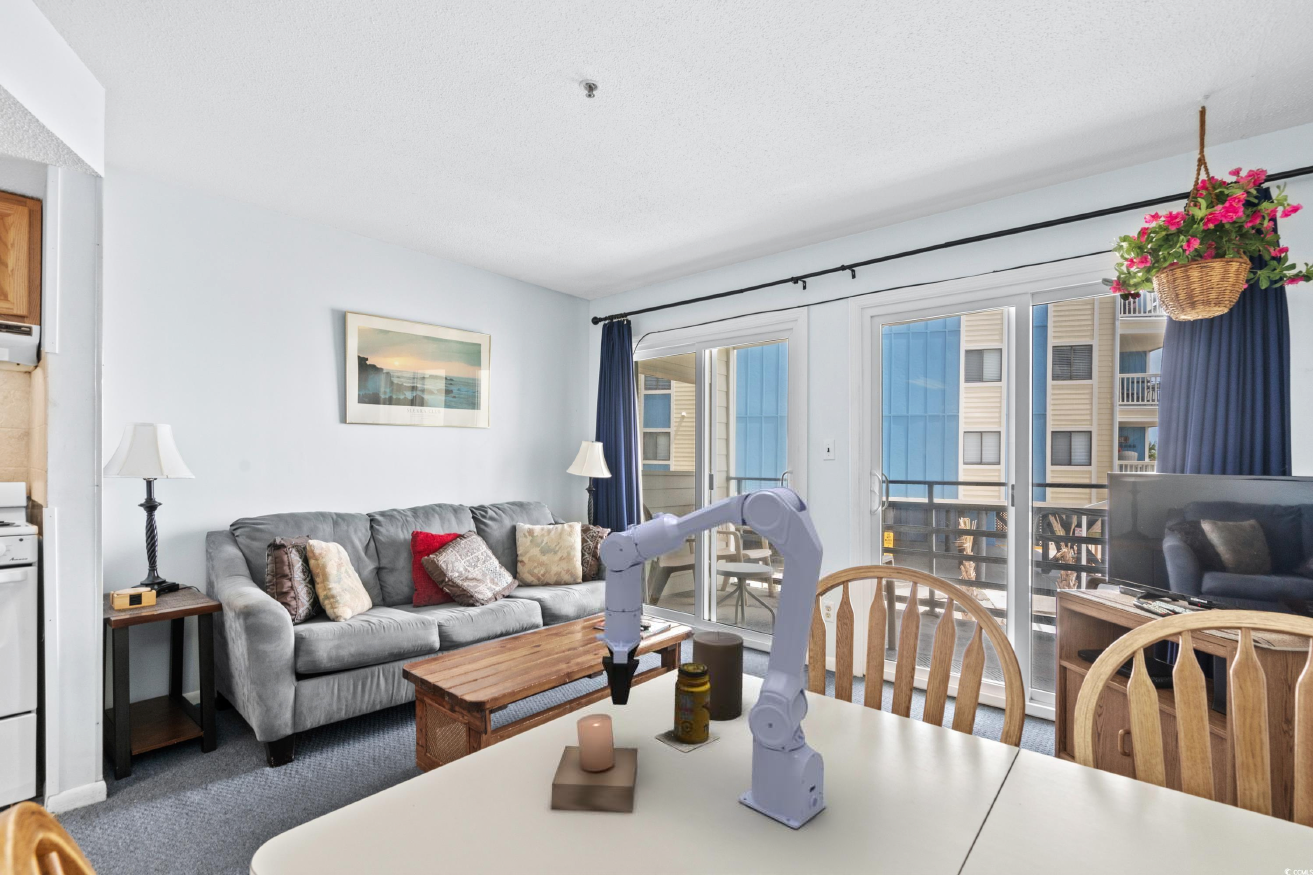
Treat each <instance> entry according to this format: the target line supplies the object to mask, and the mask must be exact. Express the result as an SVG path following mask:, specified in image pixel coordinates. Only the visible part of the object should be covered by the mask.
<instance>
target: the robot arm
mask: <svg viewBox="0 0 1313 875" xmlns="http://www.w3.org/2000/svg"><path fill="white" fill-rule="evenodd" d="M726 524H732V525H734V526H737V527H740V528H741V527H746V526H748V528H749V529H750V530H751V531H753V532H754V533H755V534H757V535H758V536H760V537H761V538H763V539H764V540H766V541H767V542H769V543H771V544H772V546H773V547H774V548H775V549H776V551H777V552H778V553H779V554H780V555H781V557H782V559H784V566H783V572H782V577H781V578H782V579H781V582H780V583H781V584H780V590H779V597H778V603H777V608H776V614H775V620H774V621H775V622H774V626H773V633H772V639H771V646H770V652H769V658H768V664H767V670H766V673H765V676H764V678H763V681H762V684H761V686H760V689H759V694H758V695H759V696H758V700H757V701H756V703H755V704H753V707H752V708H751V709H750V711H749V714H748V728H749V730H750V732H751V734H752V755H751V756H752V757H751V760H752V762H751V789H750V790H748V791H746V792H744V793H743V794H741V795H740V796H738V801H739V803H742V804H745V805H746V806H749V808H752V809H753V810H756V811H758V812H760V813H762V814H764V815H765V816H768V817H771V818H772V819H775V820H776V821H779V822H780V823H781V824H785V825H786V826H788V827H791V828H792V829H798V828H800V827H801V826H802V825H803V824H805V823H806V822H807V821H809V820H811V819H812V818H813V817H814V816H816V815H817V814H818V813H819V812H821V811H822V810H823V809H824V808H826V806H827V803H826V802H825V801H824V781H825V780H824V779H825V778H824V775H825V774H824V773H825V772H824V771H825V767H824V766H825V764H824V759H823V756H822V754H821V753H820V752H818V751H817V750H815V749H814V748H812V747H811V746H810V745H809V744H808V743H807V741H806V735H805V734H804V733H805V732H804V730H803V728H802V726H801V722H802V721H803V720H805V718H806V715H807V713H808V711H809V710H808V709H809V703H808V701H809V700H808V697H807V695H806V691H805V690H806V688H805V686H806V676H805V673H804V672H805V666H806V659H807V654H808V646H809V641H810V635H811V630H812V623H813V616H814V609H815V604H816V598H817V592H818V587H819V586H818V585H819V581H820V575H821V574H820V573H821V568H822V562H823V561H822V560H823V556H824V548H823V544H822V542H821V539H820V537H819V534H818V532H817V529H816V527H815V524H814V523H813V520H812V518H811V514H810V509H809V505H808V504H807V502H805V501H804V500H803V498H801V496H800V495H799V494H798V493H797V492H796V491H794V490H793V489H792V488H790V487H786V486H774V487H771V488H762V489H756V490H755V491H753V492H747V493H741V494H736V495H732V496H728V497H726V498H723V499H721V500H718V501H716V502H714V503H711V504H708V505H707V506H704V507H702V508H699V509H698V510H694V511H693V512H691V513H687V514H686V515H684V516H681V517H679V516H676V515H674V514H672V513H669V512H668V513H665V514H664V512H663V511H662V512H661V511H660V512H658V513H654V514H652V519H650V520H648V521H645V522H642V523H640V524H637V523H632V524H629V525H627V530H625V531H621V532H611V533H610V534H609V535H607V536H606V537H605V538H604V539H603V540H602V542H601V544H600V546H599V558H600V560H601V563H602V564H603V565H604V566H605V584H604V586H605V588H604V622H603V623H604V624H603V625H604V627H603V628H604V631H603V633H597V634H596V641H597V642H603V643H604V644H605V646H606V648H607V651H608V653H609V656H605V655H604V656H602V658H601V664H602V667H603V669H604V671H605V674H606V676H607V679H608V684H609V690H610V697H611V701H612V705H613V706H627V705H628V701H629V698H630V692H631V686H632V682H633V678H634V675H635V673H636V671H637V669H638V667H639V665H640V658H635V655H636V653H637V650H638V649H639V647H640V645H641V644H640V643H642V634H641V618H642V581H643V580H642V576H643V564H644V563H645V562H649V561H651V560H654V559H656V558H657V559H658V558H659V557H662V556H665V555H668V554H671V553H673V552H676V551H679V550H681V549H682V548H683V547H684V545H685V543H686V541H687V539H688V538H689V537H691V536H694V535H697V534H700V533H703V532H705V531H708V530H711V529H713V528H716V527H717V528H718V527H719V526H723V525H726Z"/></svg>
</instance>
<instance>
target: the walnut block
mask: <svg viewBox="0 0 1313 875" xmlns="http://www.w3.org/2000/svg"><path fill="white" fill-rule="evenodd" d="M638 750H639V749H638V748H636V747H635V748H634V747H632V748H631V747H614V752H615V763H614V764H613V765H612V766H611V767H609V768H607V769H604V770H600V771H586V770H584V769H582V768H581V764H580V753H579V745H565V747H564V749H563V752H562V754H561V758H560V761H559V763H558V765H557V768H556V772H555V774H554V777H553V779H552V783H551V809H550V810H553V811H554V810H558V811H576V812H577V811H578V812H601V813H602V812H604V813H606V812H607V813H629V814H632V813H633V809H634V803H635V802H634V800H635V792H636V783H637V777H638V776H637V775H638Z"/></svg>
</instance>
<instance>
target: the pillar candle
mask: <svg viewBox="0 0 1313 875" xmlns="http://www.w3.org/2000/svg"><path fill="white" fill-rule="evenodd" d="M691 663H700V664H703V665H705V666H706V667H707V668H708V682H709V684H710V710H709V720H713V721H725V720H733V719H736V718H738V717H740V716H741V715H742V713H743V683H744V682H743V679H744V678H743V677H744V676H743V675H744V674H743V673H744V638H743V636H741V635H740V634H736V633H733V632H729V631H719V630H717V631H716V630H715V631H712V630H711V631H703V632H698V633H694V634H693V635H692V661H691Z"/></svg>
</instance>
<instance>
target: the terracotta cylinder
mask: <svg viewBox="0 0 1313 875" xmlns="http://www.w3.org/2000/svg"><path fill="white" fill-rule="evenodd" d="M612 721H613V720H612V716H611V715H609V714H606V713H593V714H588V715H586V716H582V717H580V719H578V720H577V721H576V728H577V740H578V741H577V742H578V746H579V753H580V764H581V768H582V769H584V770H586V771H600V770H604V769H607V768H609V767H611V766H612V765H613V764H614V763H615V752H614V748H615V743H614V733H613V732H614V731H613V722H612Z"/></svg>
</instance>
